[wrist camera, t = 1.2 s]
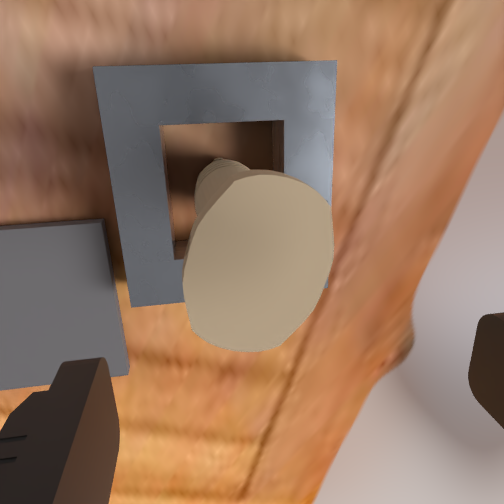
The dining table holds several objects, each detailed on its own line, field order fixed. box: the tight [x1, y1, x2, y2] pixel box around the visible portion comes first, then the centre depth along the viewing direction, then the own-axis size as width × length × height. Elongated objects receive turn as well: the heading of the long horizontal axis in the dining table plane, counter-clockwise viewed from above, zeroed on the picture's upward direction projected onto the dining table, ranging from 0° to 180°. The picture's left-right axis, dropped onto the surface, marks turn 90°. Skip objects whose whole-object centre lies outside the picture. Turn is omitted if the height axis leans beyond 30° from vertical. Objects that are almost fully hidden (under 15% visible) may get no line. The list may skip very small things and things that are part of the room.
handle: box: [182, 158, 334, 352], centre depth 20 cm, size 5×6×15 cm
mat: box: [0, 218, 130, 390], centre depth 28 cm, size 12×12×1 cm
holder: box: [93, 60, 337, 307], centre depth 26 cm, size 14×13×4 cm
